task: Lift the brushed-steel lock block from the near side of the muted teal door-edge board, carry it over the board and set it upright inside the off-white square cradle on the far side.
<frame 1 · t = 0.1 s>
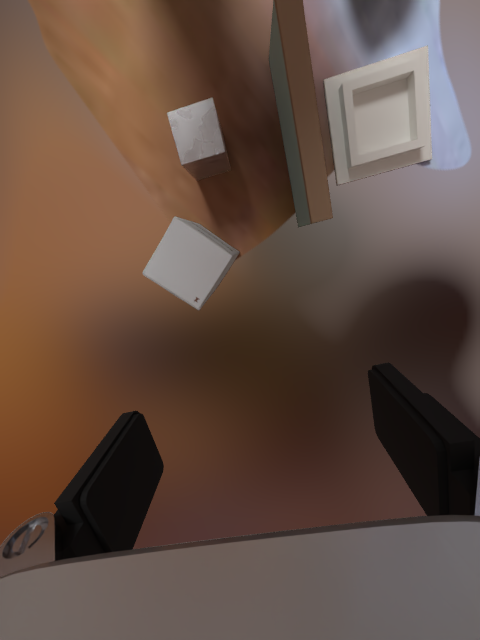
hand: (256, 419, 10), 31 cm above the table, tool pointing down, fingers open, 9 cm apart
cradle: (377, 122, 33), on the table
door board: (292, 147, 34), on the table
supplement box: (207, 258, 39), on the table
lock block: (208, 155, 35), on the table
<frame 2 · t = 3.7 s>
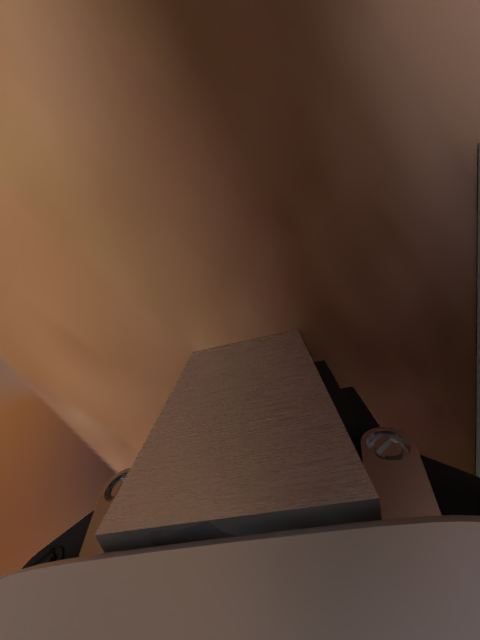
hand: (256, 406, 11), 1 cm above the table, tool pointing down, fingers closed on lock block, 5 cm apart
lock block: (256, 387, 13), on the table, touching gripper
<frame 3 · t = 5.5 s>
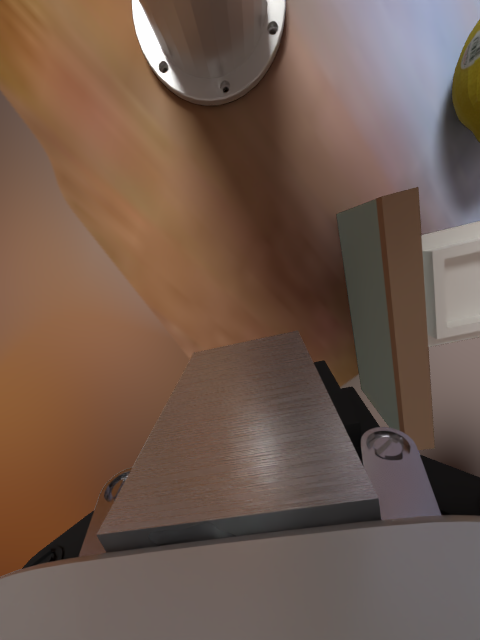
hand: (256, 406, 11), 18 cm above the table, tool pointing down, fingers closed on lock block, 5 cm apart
cradle: (468, 283, 27), on the table
door board: (359, 307, 28), on the table
lock block: (256, 388, 13), point 17 cm above the table, touching gripper
lemon: (474, 91, 23), on the table
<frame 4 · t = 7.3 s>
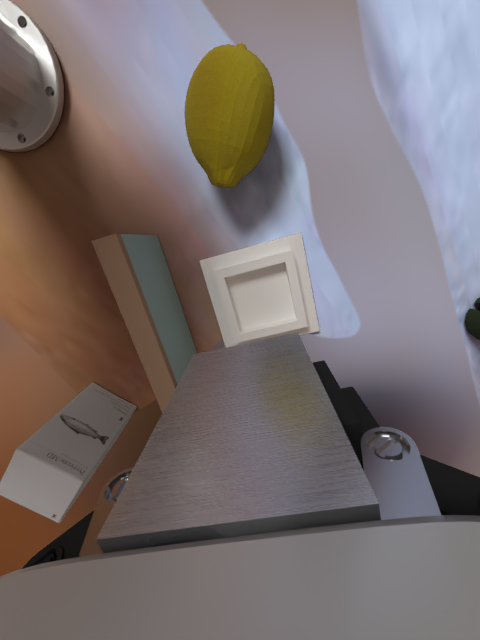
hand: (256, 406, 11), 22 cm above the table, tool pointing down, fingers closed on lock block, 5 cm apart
cradle: (261, 296, 32), on the table
door board: (177, 316, 33), on the table
supplement box: (106, 409, 38), on the table
lock block: (256, 389, 13), point 20 cm above the table, touching gripper
lemon: (232, 138, 27), on the table
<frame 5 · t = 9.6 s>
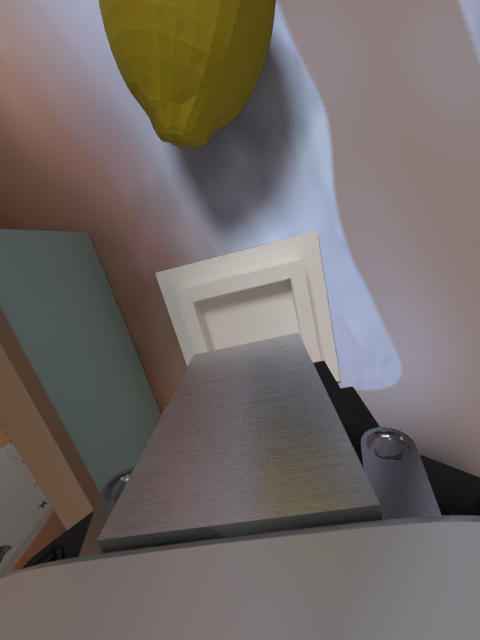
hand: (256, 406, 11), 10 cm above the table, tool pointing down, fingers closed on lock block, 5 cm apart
cradle: (252, 327, 21), on the table
door board: (126, 355, 22), on the table
supplement box: (34, 477, 27), on the table
lock block: (256, 389, 13), point 9 cm above the table, touching gripper
lemon: (204, 70, 16), on the table
when the fingers open (3 cm above the table, at t = 11.3 s): lock block drops 1 cm, resting on cradle.
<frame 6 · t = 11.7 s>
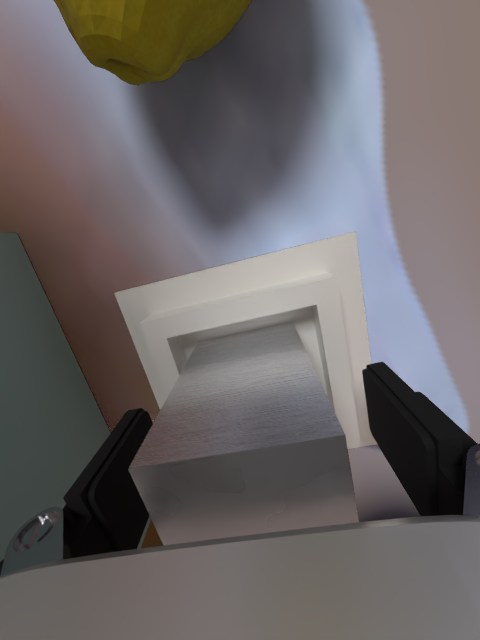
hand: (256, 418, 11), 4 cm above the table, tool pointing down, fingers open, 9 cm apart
cradle: (256, 369, 15), on the table
door board: (80, 404, 16), on the table
lock block: (255, 373, 14), resting on cradle
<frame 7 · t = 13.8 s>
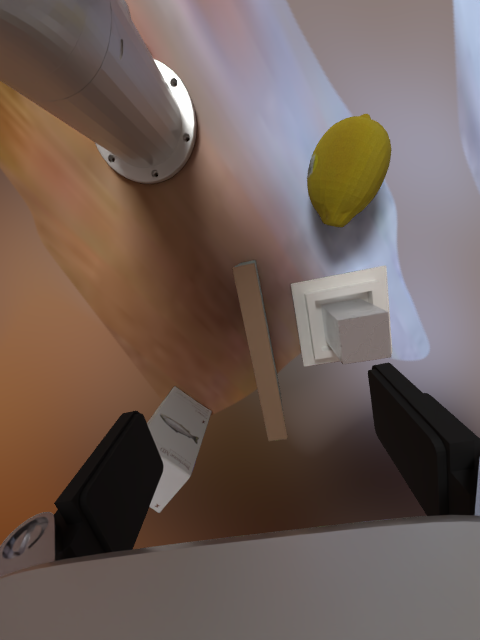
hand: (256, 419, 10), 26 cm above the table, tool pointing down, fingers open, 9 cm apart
cradle: (341, 318, 35), on the table
door board: (261, 332, 37), on the table
supplement box: (181, 412, 42), on the table
lock block: (342, 319, 35), resting on cradle
lemon: (333, 183, 31), on the table
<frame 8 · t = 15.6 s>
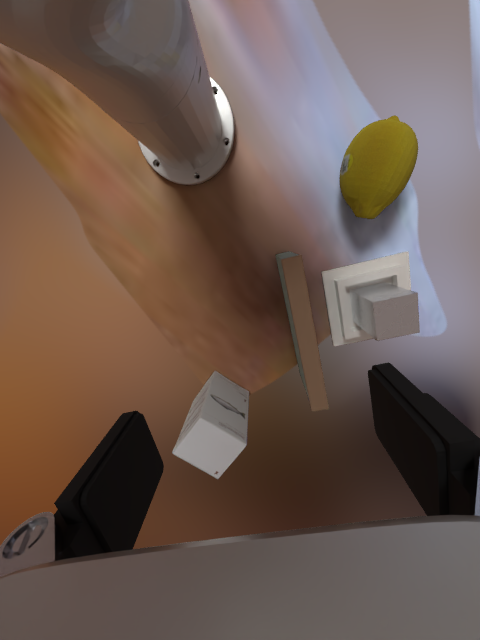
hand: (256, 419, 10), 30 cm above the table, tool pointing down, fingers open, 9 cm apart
cradle: (367, 301, 39), on the table
door board: (294, 317, 40), on the table
supplement box: (221, 394, 45), on the table
lock block: (368, 302, 39), resting on cradle
lemon: (360, 178, 35), on the table
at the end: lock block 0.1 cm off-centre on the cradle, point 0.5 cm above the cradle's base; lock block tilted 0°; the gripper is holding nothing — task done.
